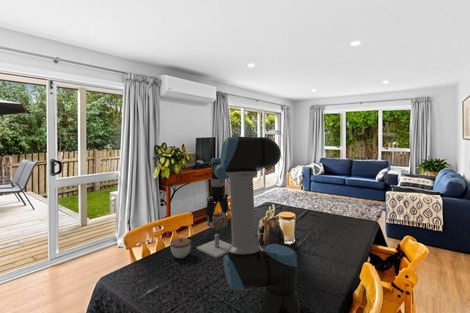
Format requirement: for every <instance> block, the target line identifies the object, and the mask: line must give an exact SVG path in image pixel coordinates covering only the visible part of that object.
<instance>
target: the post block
mask: <svg viewBox="0 0 470 313" xmlns="http://www.w3.org/2000/svg"><path fill="white" fill-rule="evenodd" d="M231 245H232V243H228V242H226V241H223V240H221V239H220V234H219V233H216V234H214V239H213V240H211V241H209V242H206V243H203V244H202V245H199V246H196V250H198V251H200V252H202V253H204V254H207V255H209V256H210V257H213V258H215V259H219V258H220V257H222V256H225V255H228V248H229V247H230V246H231Z"/></svg>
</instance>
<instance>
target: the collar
mask: <svg viewBox="0 0 470 313" xmlns="http://www.w3.org/2000/svg"><path fill="white" fill-rule="evenodd" d="M213 216H214V228H213V229H215V230H216V231H217V230H220V229H222V228H226V227H228V226H229V225H228V222H229V219H228V218H229V216H228V215H227V214H226V215H224V214H221V212H214V214H213ZM206 221H207V227H209V228H211V227H210V222H209V216H207V220H206Z"/></svg>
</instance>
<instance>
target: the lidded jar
mask: <svg viewBox="0 0 470 313" xmlns="http://www.w3.org/2000/svg"><path fill="white" fill-rule="evenodd" d="M169 245H170V252H171V254H172V255H173V256H174V258H176V259H184V258H186V257H187V256H188V255H189V253H190V251H191V247H192V246H191V245H192V241H191V239H189V238H188V237H178V238H174V239H172V240H171V241H170V244H169Z"/></svg>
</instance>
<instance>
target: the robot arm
mask: <svg viewBox="0 0 470 313" xmlns="http://www.w3.org/2000/svg"><path fill="white" fill-rule="evenodd" d="M220 151H221V152H220V157H212V158H211V161H210V173H211V175H210V193H211V196H209V197H207V198H206V200H207V202H206V211H205V216H207V217H208V216H209V222H210V227H209V228H211V229H214V216H213V214H215V211H216V206H217V205H218V204H219V205H220V209H221V212H220V213H221V214H224V215H227V213H228V211H229V210H230V225H231V246H230V247H229V248H228V253H227V254H225V255H223V268H224V274H225V277H226V282H227V285H228V286H229V288H230V289H231V290H234V291H241V290H242V291H244V290H249V289H256V288H262V292H261V295H260V297H259V302H258V303H259V310H260V312H261V313H301V303H300V300H299V296H298V293H297V270H298V260H297V259H298V258H297V257H298V256H297V254H296V251H294V250H293V249H292V248H290V247H289V246H286V245H282V244H279V243H272V244H271V243H269V244H267V245H266V246H265V247H264V250H263V251H261V247H260V246H259V245H258V244H257V242H256V222H255V221H256V219H255V218H256V216H255V198H254V178H255V177H256V176H257V174H258V172H260V171H262V170H263V169H271V168H273V167H275V166H276V165H277V164H278V163H279V161H280V160H281V156H282V152H281V148H280V146H279V145H278V144H277V142H276V141H275V140H273V139H271V138H269V137H265V136H258V137H256V136H230V137H226V138H225V139H224V141H223V142H222V146H221V150H220ZM227 179H229V195H230V196H228V194H227V193H225V187H226V186H225V184H226V183H225V180H227ZM228 197H229V198H230V208H229V201H228V200H229V199H228Z"/></svg>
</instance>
